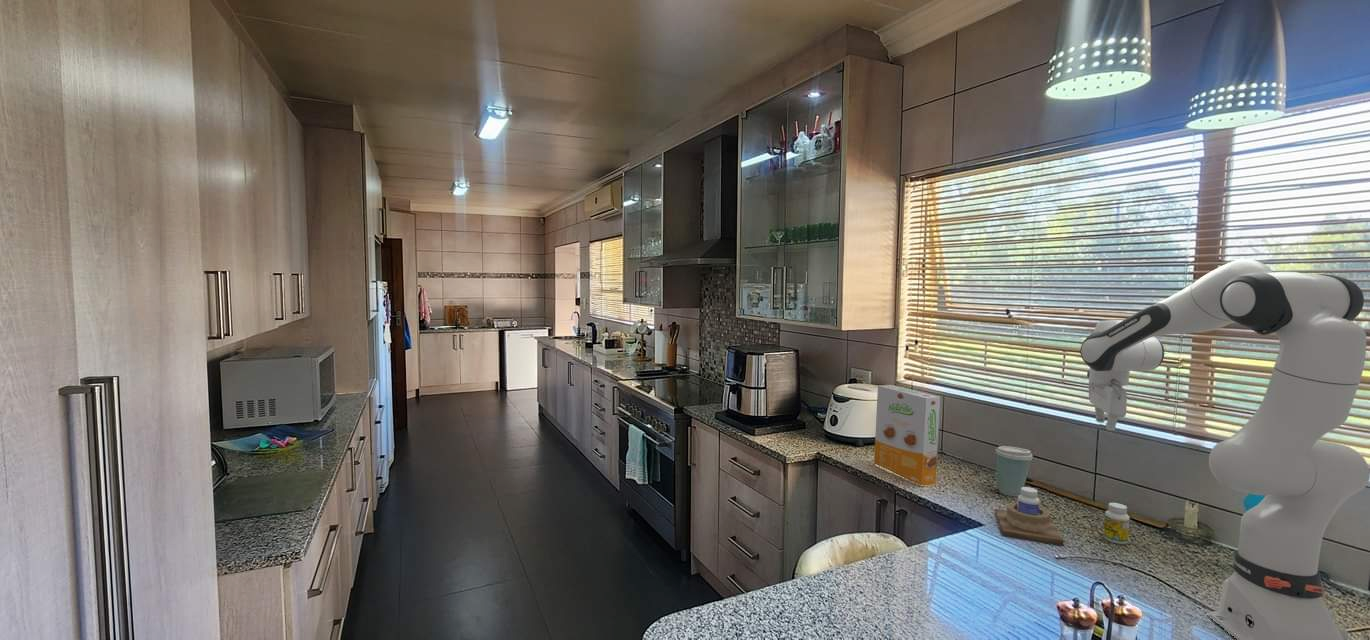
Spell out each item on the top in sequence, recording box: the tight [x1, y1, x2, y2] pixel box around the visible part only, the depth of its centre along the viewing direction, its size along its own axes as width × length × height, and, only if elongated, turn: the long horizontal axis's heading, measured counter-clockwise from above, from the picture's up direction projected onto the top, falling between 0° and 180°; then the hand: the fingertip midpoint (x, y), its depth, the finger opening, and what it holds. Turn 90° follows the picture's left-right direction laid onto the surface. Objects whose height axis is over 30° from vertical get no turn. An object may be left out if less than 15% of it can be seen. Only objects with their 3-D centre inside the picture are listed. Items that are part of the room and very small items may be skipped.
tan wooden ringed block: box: [994, 502, 1065, 547], centre depth 160 cm, size 16×14×6 cm
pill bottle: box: [1016, 486, 1041, 515], centre depth 160 cm, size 5×5×10 cm
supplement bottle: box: [1102, 502, 1131, 545], centre depth 154 cm, size 5×5×10 cm
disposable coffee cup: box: [994, 445, 1034, 498], centre depth 187 cm, size 11×11×15 cm
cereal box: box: [873, 384, 941, 485], centre depth 201 cm, size 22×6×30 cm, turn 24°
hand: (1105, 425), depth 160 cm, fingers open, 8 cm apart
